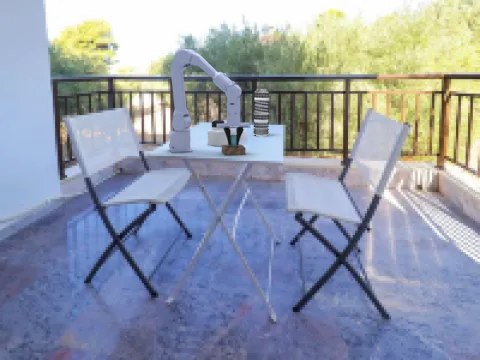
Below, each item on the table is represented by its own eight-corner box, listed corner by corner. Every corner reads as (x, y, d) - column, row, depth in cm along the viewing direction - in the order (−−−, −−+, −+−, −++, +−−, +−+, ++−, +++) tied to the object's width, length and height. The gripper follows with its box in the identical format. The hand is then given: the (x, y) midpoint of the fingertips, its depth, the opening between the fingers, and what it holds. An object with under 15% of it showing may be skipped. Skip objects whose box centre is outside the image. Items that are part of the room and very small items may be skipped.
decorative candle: (251, 136, 254) (252, 89, 248) (253, 133, 263) (254, 88, 257) (268, 136, 253) (269, 89, 247) (270, 134, 262) (271, 88, 256)
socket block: (224, 155, 200) (224, 148, 200) (221, 151, 209) (221, 144, 208) (245, 154, 202) (245, 147, 201) (241, 151, 211) (241, 144, 210)
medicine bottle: (228, 144, 226) (228, 120, 224) (217, 146, 221) (217, 121, 218) (218, 143, 231) (218, 118, 228) (207, 144, 226) (207, 119, 223)
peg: (230, 149, 203) (230, 135, 202) (229, 148, 206) (229, 134, 205) (237, 149, 204) (237, 135, 203) (235, 148, 207) (235, 134, 205)
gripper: (218, 114, 196) (218, 146, 199) (252, 114, 199) (251, 145, 202) (215, 112, 203) (215, 143, 206) (248, 112, 206) (248, 143, 209)
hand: (233, 144), depth 205 cm, fingers closed on peg, 3 cm apart
